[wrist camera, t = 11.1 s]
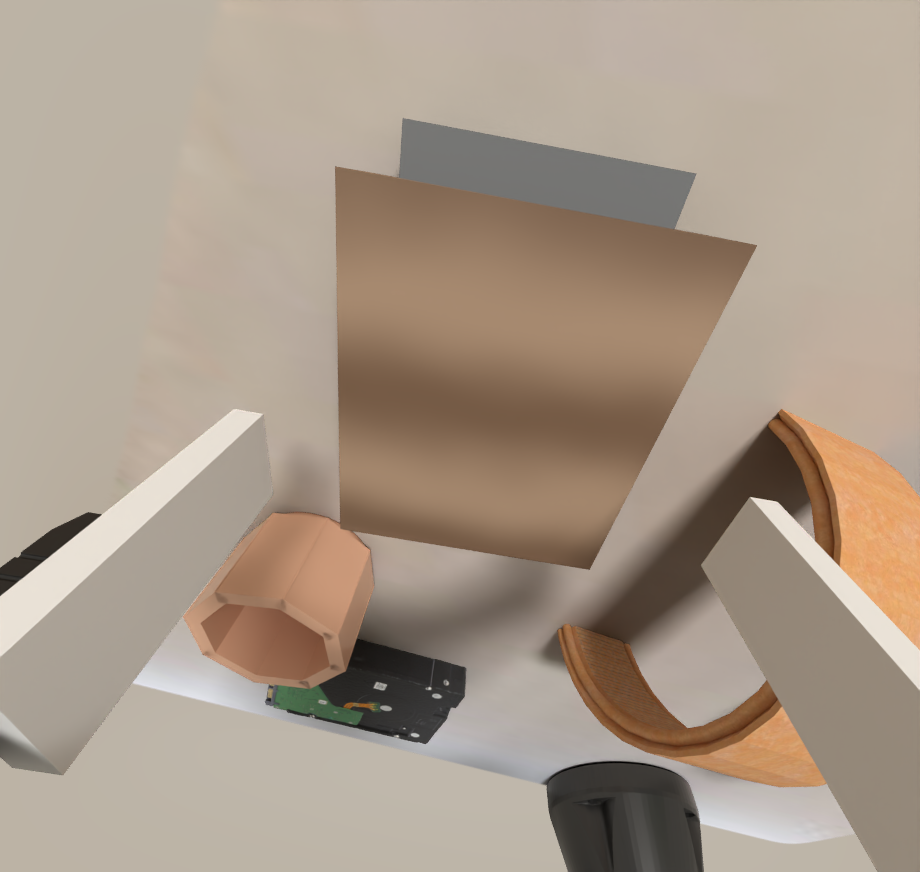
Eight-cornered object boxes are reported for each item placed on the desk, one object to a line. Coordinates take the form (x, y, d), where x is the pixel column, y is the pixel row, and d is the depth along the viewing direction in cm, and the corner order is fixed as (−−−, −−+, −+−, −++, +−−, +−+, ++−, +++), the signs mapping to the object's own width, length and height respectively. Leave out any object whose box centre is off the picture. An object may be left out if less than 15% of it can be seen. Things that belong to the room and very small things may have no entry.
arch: (554, 627, 28) (581, 814, 20) (780, 406, 18) (1040, 598, 9) (622, 650, 29) (676, 838, 21) (874, 452, 19) (1188, 664, 10)
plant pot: (378, 601, 27) (350, 694, 22) (267, 590, 28) (214, 677, 22) (369, 515, 23) (332, 604, 18) (239, 503, 24) (166, 586, 18)
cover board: (576, 520, 20) (589, 569, 17) (360, 484, 19) (340, 528, 17) (703, 234, 13) (756, 245, 10) (367, 171, 12) (335, 166, 10)
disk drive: (468, 658, 32) (288, 614, 30) (467, 695, 30) (271, 650, 28) (431, 711, 37) (277, 676, 35) (427, 746, 35) (262, 711, 33)
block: (545, 511, 22) (549, 537, 20) (388, 485, 22) (379, 510, 20) (670, 176, 13) (696, 173, 12) (414, 127, 13) (402, 118, 12)
